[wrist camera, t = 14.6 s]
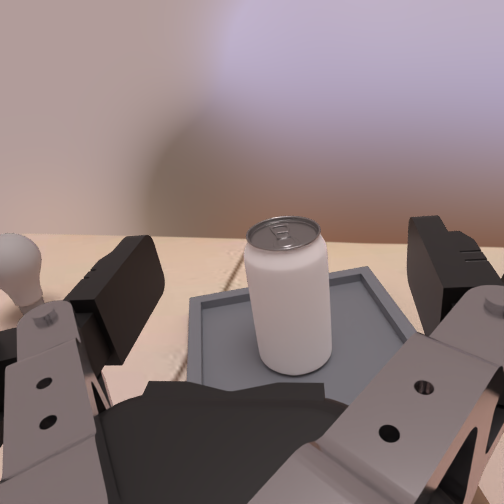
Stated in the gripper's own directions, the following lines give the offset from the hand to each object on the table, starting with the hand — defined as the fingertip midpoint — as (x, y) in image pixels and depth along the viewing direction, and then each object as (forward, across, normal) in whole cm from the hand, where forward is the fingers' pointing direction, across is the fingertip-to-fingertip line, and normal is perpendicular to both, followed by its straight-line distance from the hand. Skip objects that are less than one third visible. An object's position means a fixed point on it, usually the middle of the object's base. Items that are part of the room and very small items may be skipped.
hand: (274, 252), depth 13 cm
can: (+16, +2, +20) cm, 25 cm away
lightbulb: (+23, +34, +20) cm, 45 cm away
